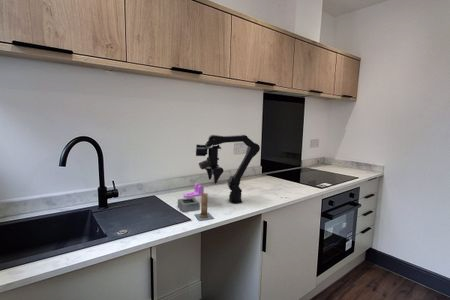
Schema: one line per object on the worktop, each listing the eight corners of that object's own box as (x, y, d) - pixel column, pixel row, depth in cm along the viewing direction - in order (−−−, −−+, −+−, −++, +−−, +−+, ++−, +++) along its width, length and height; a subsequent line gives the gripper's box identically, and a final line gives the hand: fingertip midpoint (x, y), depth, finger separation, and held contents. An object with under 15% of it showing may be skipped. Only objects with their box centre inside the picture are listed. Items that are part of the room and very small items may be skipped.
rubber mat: (208, 213, 132) (208, 212, 132) (213, 218, 125) (214, 218, 125) (194, 215, 129) (194, 214, 128) (199, 221, 121) (199, 220, 121)
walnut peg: (203, 213, 130) (204, 192, 128) (210, 215, 127) (210, 193, 125) (197, 216, 126) (198, 194, 124) (204, 218, 123) (205, 196, 122)
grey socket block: (194, 203, 145) (194, 197, 144) (199, 209, 136) (199, 202, 135) (177, 205, 141) (177, 199, 140) (182, 212, 132) (182, 205, 131)
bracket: (199, 192, 166) (199, 183, 165) (203, 195, 162) (203, 184, 161) (182, 196, 158) (182, 186, 157) (186, 198, 154) (186, 188, 153)
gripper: (195, 154, 150) (195, 178, 152) (205, 159, 133) (205, 187, 135) (212, 153, 154) (211, 177, 156) (224, 158, 137) (223, 185, 140)
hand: (212, 181), depth 147 cm, fingers open, 9 cm apart
